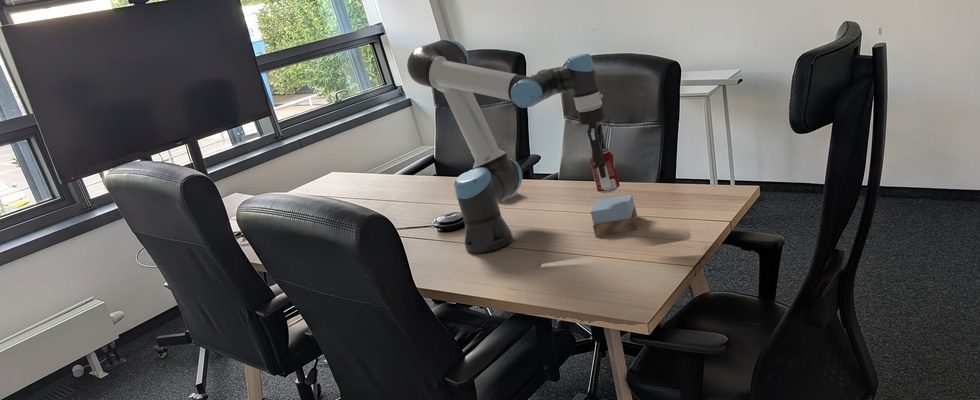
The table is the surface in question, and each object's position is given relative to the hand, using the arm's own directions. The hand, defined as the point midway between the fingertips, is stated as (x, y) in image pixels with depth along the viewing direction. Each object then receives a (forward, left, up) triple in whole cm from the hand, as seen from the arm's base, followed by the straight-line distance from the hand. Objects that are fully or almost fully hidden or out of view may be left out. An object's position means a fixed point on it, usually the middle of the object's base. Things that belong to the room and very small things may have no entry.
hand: (607, 183), depth 220 cm
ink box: (-45, +47, -14) cm, 67 cm away
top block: (0, 0, -10) cm, 10 cm away
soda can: (0, 0, -2) cm, 2 cm away
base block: (0, 0, -14) cm, 14 cm away
